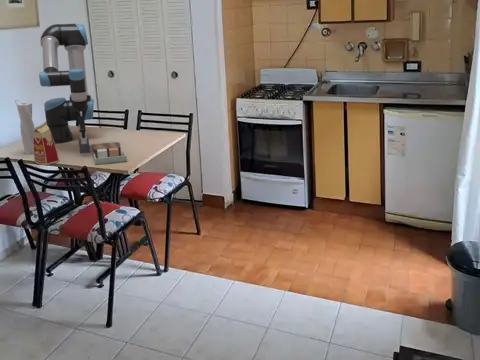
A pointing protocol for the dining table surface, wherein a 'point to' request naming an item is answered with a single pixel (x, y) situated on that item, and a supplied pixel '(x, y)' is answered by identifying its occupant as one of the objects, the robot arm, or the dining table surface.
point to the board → (105, 147)
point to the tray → (110, 159)
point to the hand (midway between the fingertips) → (83, 140)
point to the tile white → (102, 153)
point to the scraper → (86, 146)
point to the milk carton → (44, 146)
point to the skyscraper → (26, 126)
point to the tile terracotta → (113, 152)
